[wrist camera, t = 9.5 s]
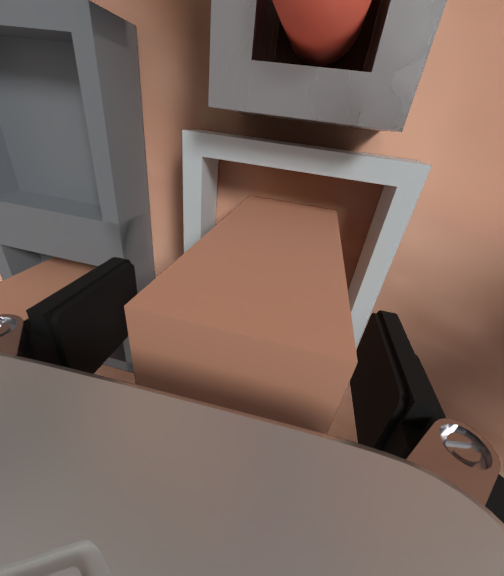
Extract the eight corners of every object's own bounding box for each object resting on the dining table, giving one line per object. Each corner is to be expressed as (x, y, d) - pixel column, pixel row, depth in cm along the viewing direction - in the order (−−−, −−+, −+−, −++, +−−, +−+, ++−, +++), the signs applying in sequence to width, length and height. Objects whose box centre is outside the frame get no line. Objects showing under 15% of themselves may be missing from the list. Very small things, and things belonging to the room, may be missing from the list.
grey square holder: (255, -102, 11) (217, -229, 7) (449, -97, 10) (529, -243, 6) (239, 112, 14) (208, 106, 10) (380, 131, 13) (401, 131, 10)
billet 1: (56, 255, 21) (-203, 376, 11) (116, 269, 20) (-97, 412, 10) (71, 309, 23) (-126, 449, 13) (125, 323, 23) (-38, 481, 12)
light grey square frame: (202, 129, 15) (182, 129, 13) (415, 159, 14) (431, 165, 11) (199, 298, 21) (184, 317, 19) (349, 333, 19) (352, 358, 17)
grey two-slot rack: (-36, 10, 15) (-116, -17, 12) (135, 25, 13) (88, -1, 11) (59, 321, 26) (28, 343, 23) (160, 347, 24) (139, 374, 22)
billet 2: (249, 195, 16) (124, 305, 6) (336, 210, 16) (357, 362, 5) (241, 270, 19) (143, 437, 9) (315, 286, 18) (304, 487, 8)
